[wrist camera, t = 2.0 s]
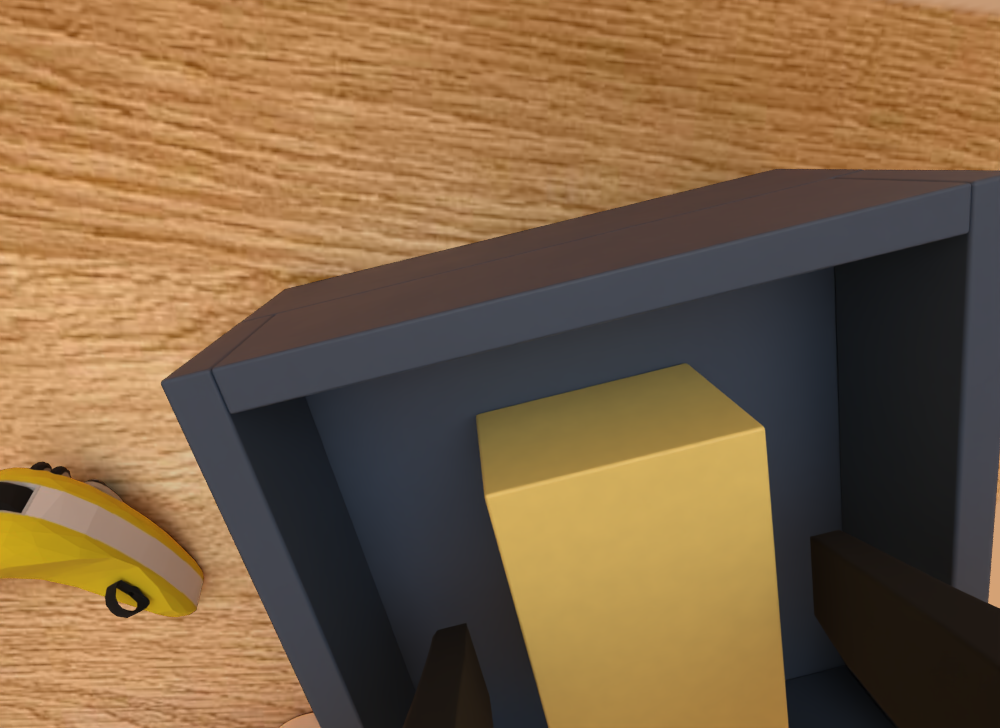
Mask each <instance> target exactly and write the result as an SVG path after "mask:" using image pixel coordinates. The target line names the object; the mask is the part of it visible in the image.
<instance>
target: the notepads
mask: <svg viewBox="0 0 1000 728" xmlns="http://www.w3.org/2000/svg"><path fill="white" fill-rule="evenodd" d="M476 424H477V433H478V443H479V452H480V461H481V470H482V480H483V489H484V498H485V501H486V505H487V509H488V512H489V516H490V520H491V523H492V527H493V530H494V534H495V538H496V541H497V545H498V548H499V552H500V556H501V559H502V563H503V566H504V570H505V574H506V577H507V581H508V584H509V588H510V592H511V595H512V599H513V602H514V606H515V610H516V613H517V617H518V620H519V624H520V628H521V631H522V635H523V639H524V642H525V646H526V649H527V653H528V657H529V660H530V664H531V667H532V671H533V675H534V678H535V682H536V685H537V689H538V693H539V696H540V700H541V703H542V707H543V711H544V714H545V718H546V721H547V725H548V728H789V725H788V713H787V700H786V687H785V675H784V662H783V650H782V637H781V624H780V612H779V599H778V587H777V574H776V562H775V549H774V536H773V524H772V511H771V499H770V486H769V473H768V461H767V448H766V436H765V428H764V427H763V426H762V425H761V424H760V423H759V422H758V421H756V420H755V419H754V418H753V417H752V416H750V415H749V414H748V413H747V412H745V411H744V410H743V409H742V408H741V407H739V406H738V405H737V404H736V403H735V402H733V401H732V400H731V399H730V398H728V397H727V396H726V395H725V394H724V393H722V392H721V391H720V390H719V389H718V388H716V387H715V386H714V385H713V384H711V383H710V382H709V381H708V380H707V379H705V378H704V377H703V376H702V375H701V374H699V373H698V372H697V371H696V370H694V369H693V368H692V367H691V366H690V365H688V364H686V363H684V364H680V365H676V366H672V367H668V368H664V369H660V370H656V371H652V372H648V373H644V374H640V375H636V376H632V377H628V378H624V379H619V380H615V381H611V382H607V383H603V384H599V385H595V386H591V387H587V388H583V389H579V390H575V391H571V392H567V393H563V394H559V395H554V396H550V397H546V398H542V399H538V400H534V401H530V402H526V403H522V404H518V405H514V406H510V407H506V408H502V409H498V410H494V411H489V412H485V413H481V414H478V415H476Z"/></svg>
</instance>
